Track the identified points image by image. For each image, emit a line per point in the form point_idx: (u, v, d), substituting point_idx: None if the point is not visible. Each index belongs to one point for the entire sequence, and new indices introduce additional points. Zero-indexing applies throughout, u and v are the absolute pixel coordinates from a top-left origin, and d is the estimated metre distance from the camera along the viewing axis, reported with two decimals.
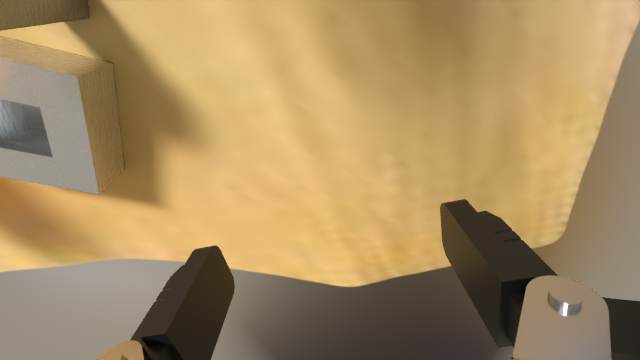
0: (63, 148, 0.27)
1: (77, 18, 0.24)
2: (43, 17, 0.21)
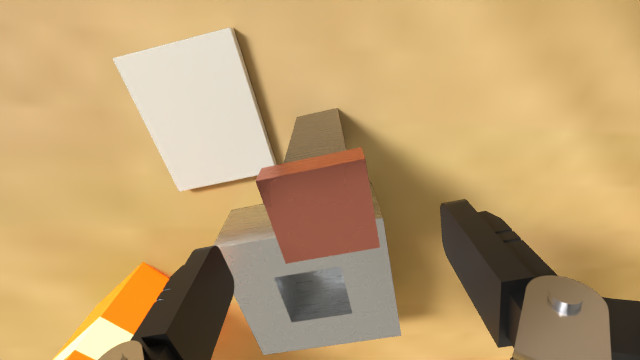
0: (364, 300, 0.23)
1: None
2: None
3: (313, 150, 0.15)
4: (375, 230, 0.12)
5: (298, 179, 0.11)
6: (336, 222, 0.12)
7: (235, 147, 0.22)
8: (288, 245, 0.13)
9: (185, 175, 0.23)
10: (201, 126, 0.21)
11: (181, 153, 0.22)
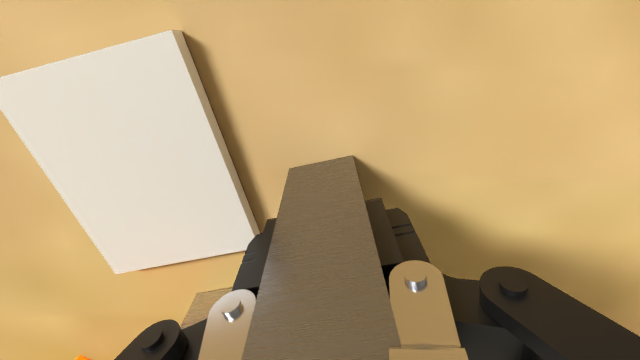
0: None
1: None
2: None
3: (315, 286, 0.07)
4: None
5: None
6: None
7: (194, 215, 0.14)
8: None
9: (122, 253, 0.15)
10: (139, 185, 0.13)
11: (112, 223, 0.14)
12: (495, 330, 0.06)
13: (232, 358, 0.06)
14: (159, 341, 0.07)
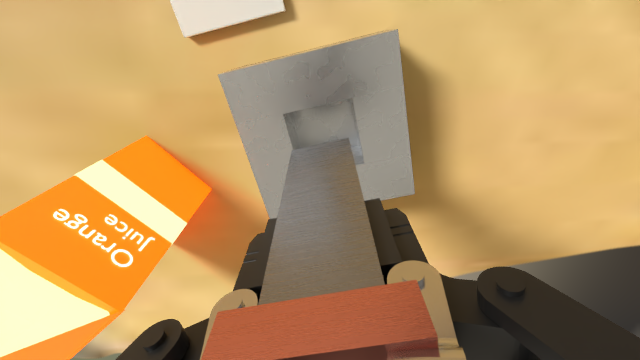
0: (377, 144, 0.22)
1: None
2: None
3: (317, 239, 0.09)
4: None
5: None
6: None
7: None
8: None
9: (190, 16, 0.22)
10: None
11: None
12: (492, 330, 0.06)
13: None
14: (161, 340, 0.07)
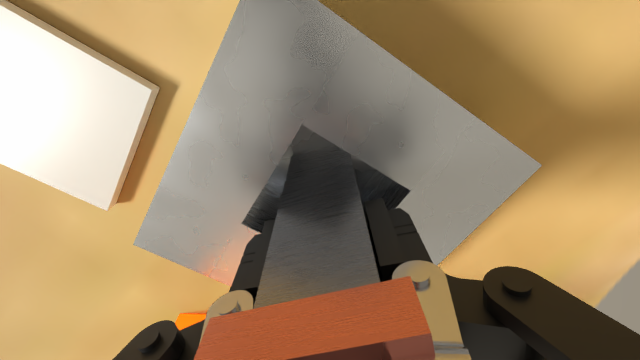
0: (404, 151, 0.11)
1: (363, 204, 0.15)
2: None
3: (313, 242, 0.08)
4: None
5: None
6: None
7: (85, 104, 0.14)
8: None
9: (90, 187, 0.16)
10: (33, 113, 0.14)
11: (58, 164, 0.16)
12: (498, 330, 0.06)
13: None
14: (156, 342, 0.07)
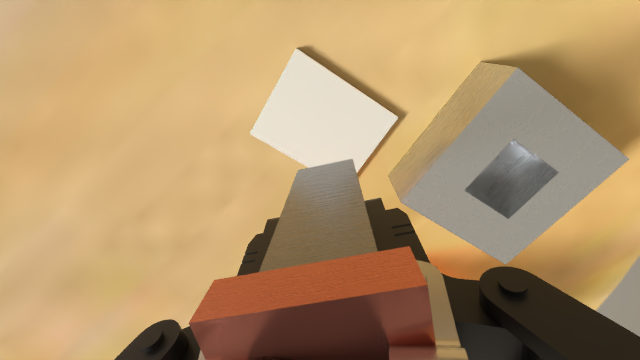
0: (560, 151, 0.22)
1: None
2: None
3: (316, 232, 0.09)
4: None
5: (279, 322, 0.05)
6: None
7: (357, 125, 0.25)
8: None
9: None
10: (326, 130, 0.25)
11: (327, 160, 0.27)
12: (495, 330, 0.06)
13: None
14: (159, 341, 0.07)
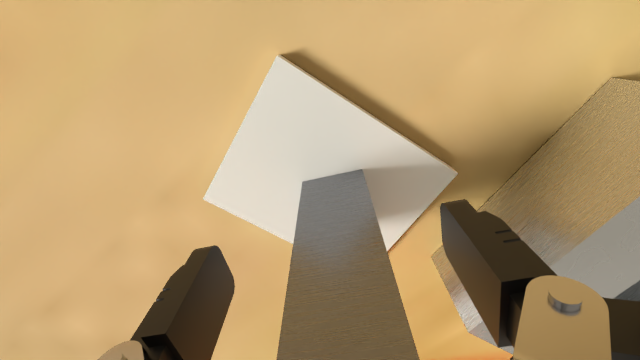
0: None
1: None
2: None
3: (336, 297, 0.08)
4: None
5: None
6: None
7: (387, 185, 0.15)
8: None
9: None
10: None
11: None
12: None
13: None
14: None
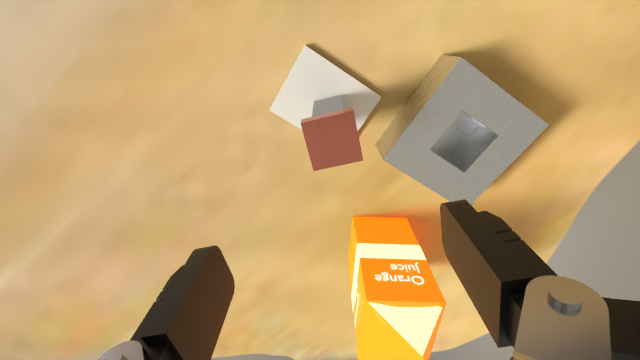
0: (498, 119, 0.30)
1: None
2: None
3: None
4: (360, 150, 0.24)
5: (321, 122, 0.23)
6: (340, 145, 0.24)
7: (351, 103, 0.33)
8: (315, 159, 0.24)
9: None
10: None
11: None
12: None
13: None
14: None
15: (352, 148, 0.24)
